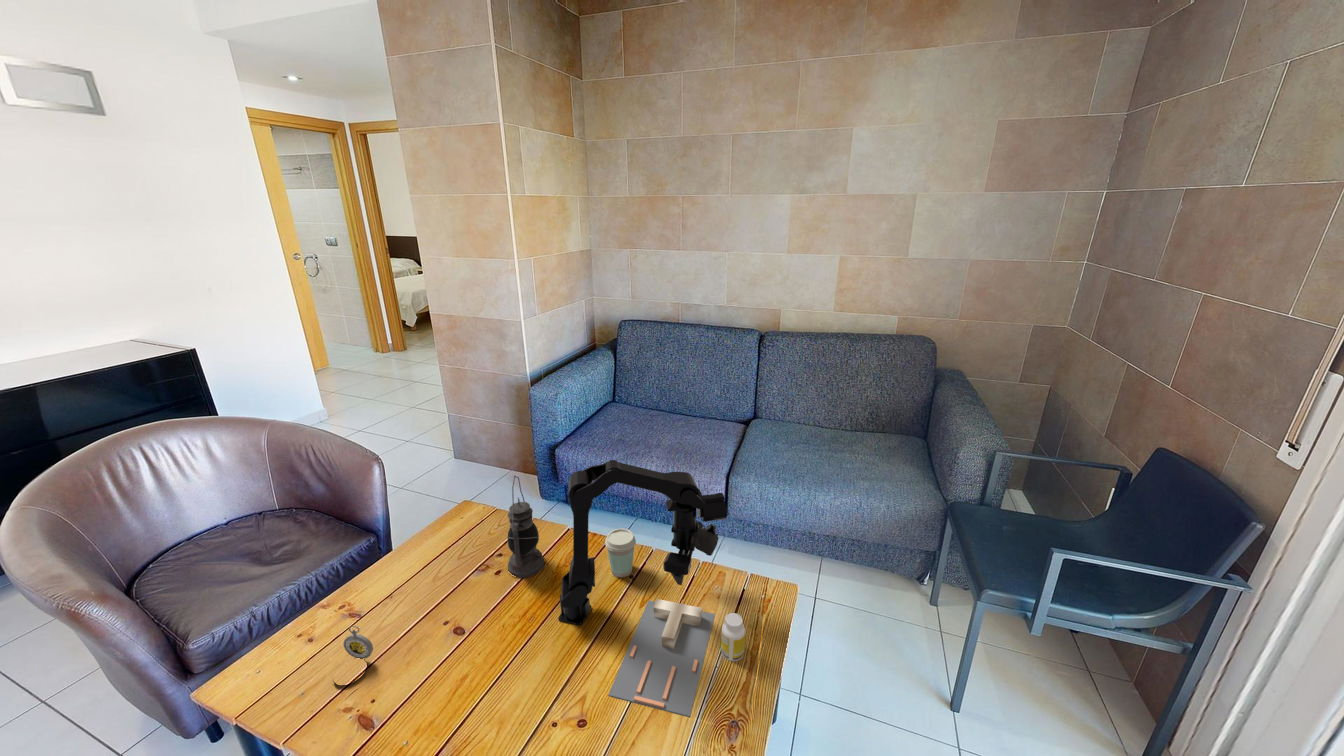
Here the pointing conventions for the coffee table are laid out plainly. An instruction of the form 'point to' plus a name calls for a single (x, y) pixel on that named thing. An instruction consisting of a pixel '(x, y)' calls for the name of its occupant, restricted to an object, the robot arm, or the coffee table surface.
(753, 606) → the coffee table surface
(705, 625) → the mat
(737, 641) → the supplement bottle
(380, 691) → the coffee table surface
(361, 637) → the pocket watch
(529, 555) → the lantern
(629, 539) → the coffee cup
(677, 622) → the t block
